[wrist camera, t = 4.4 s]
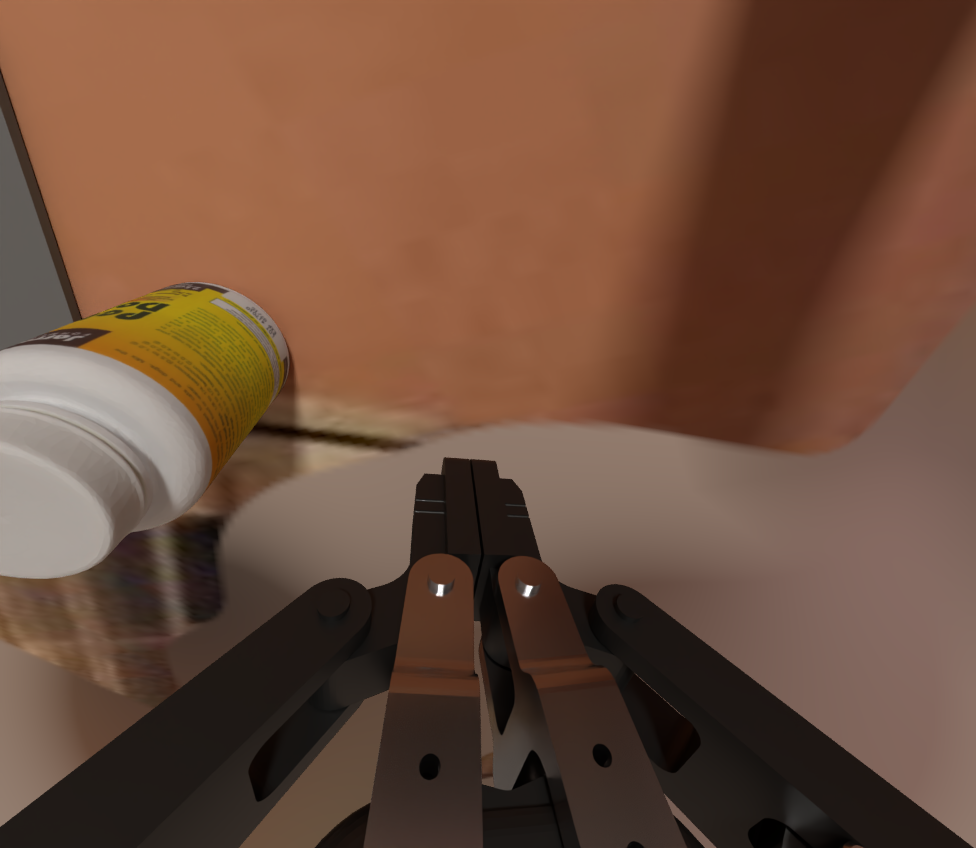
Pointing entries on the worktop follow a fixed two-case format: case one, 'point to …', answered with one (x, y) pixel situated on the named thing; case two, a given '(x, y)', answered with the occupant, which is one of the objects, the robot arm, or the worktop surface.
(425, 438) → the worktop surface
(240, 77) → the worktop surface
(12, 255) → the mat
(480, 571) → the robot arm
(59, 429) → the supplement bottle
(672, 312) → the worktop surface
